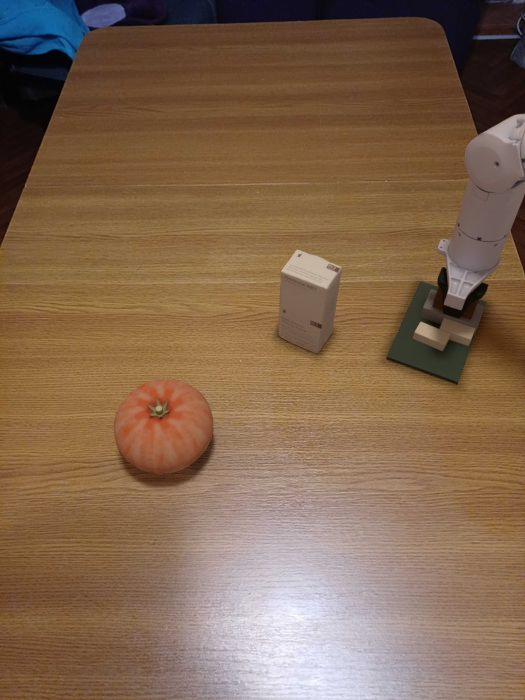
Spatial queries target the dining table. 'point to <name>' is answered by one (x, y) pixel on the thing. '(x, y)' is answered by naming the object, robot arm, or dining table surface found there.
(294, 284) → the cosmetic box
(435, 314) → the eraser
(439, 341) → the chalk
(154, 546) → the dining table surface
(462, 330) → the chalk
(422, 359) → the slate
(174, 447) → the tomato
